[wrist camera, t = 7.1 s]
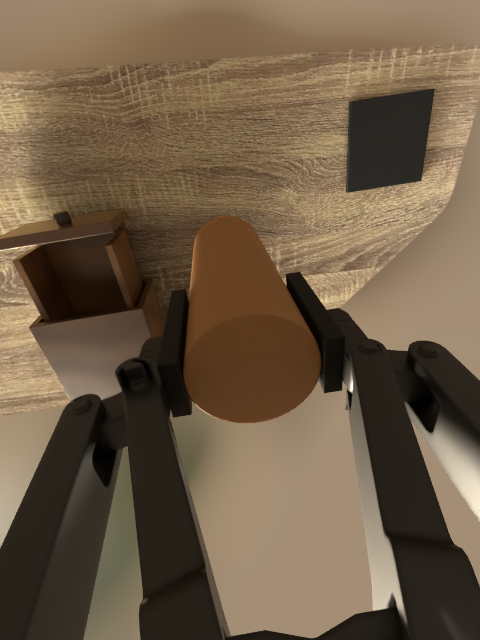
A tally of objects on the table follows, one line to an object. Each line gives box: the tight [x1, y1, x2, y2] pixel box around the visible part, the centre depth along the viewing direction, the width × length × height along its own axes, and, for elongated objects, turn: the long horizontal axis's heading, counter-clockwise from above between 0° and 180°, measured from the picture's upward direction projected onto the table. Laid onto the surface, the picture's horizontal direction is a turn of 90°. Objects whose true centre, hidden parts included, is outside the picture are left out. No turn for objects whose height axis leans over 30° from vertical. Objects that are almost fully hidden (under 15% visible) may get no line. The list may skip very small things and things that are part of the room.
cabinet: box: [29, 279, 166, 401], centre depth 45 cm, size 15×14×9 cm
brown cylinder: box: [183, 216, 322, 423], centre depth 19 cm, size 6×6×16 cm
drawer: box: [0, 208, 144, 322], centre depth 39 cm, size 15×12×7 cm
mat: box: [346, 89, 435, 192], centre depth 39 cm, size 10×10×1 cm
